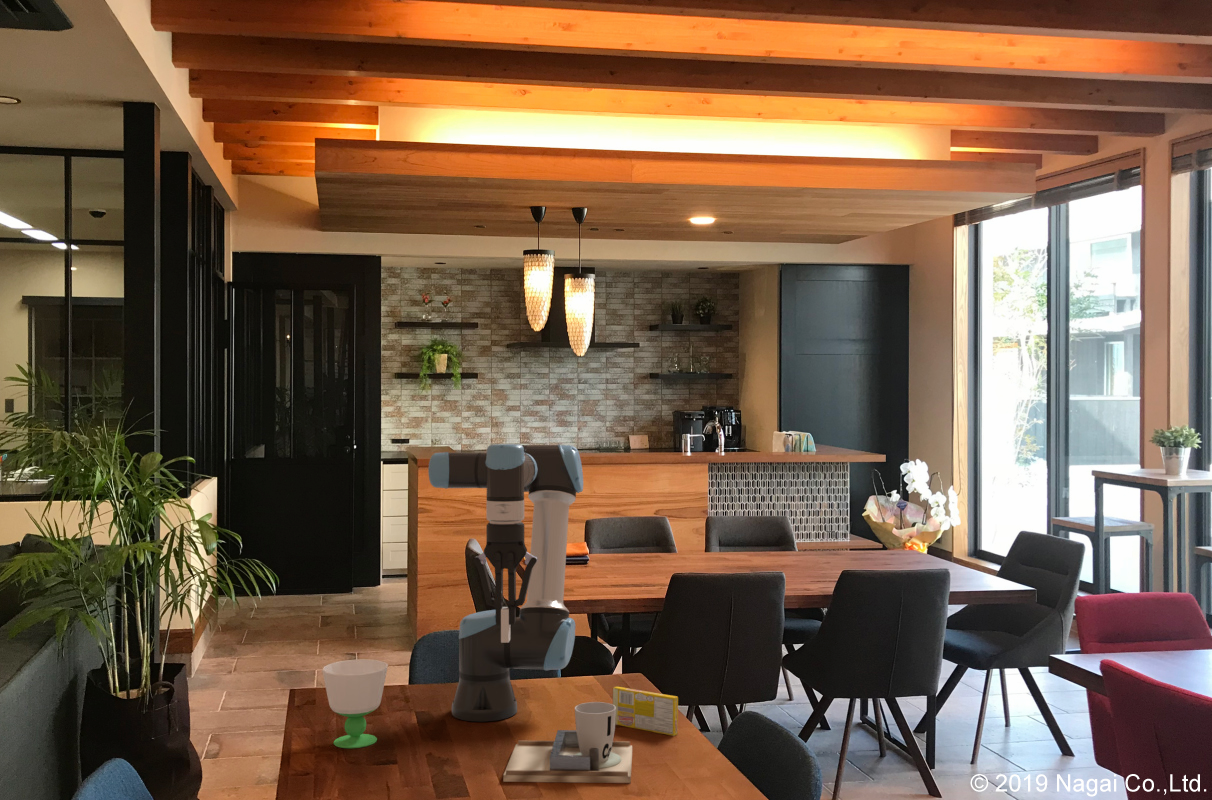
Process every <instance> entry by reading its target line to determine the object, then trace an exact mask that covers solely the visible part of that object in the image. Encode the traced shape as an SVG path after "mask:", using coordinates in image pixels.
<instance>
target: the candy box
mask: <svg viewBox="0 0 1212 800" xmlns="http://www.w3.org/2000/svg"><path fill="white" fill-rule="evenodd" d="M612 704H613V705H614V706H615V707H616V714H615V726H621V727H625V728H632V729H636V730H641V731H646V732H651V733H655V734H660V735H665V736H666V735H667V736H670V737H671V736H672V737H675V736H677V735H678V734H679V733H678V732H679V725H678V724H679V718H678V717H679V696H676V695H672V694H671V695H670V694H664V693H658V692H652V691H646V690H640V689H635V688H627V687H623V686H614V687H613V688H612Z"/></svg>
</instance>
